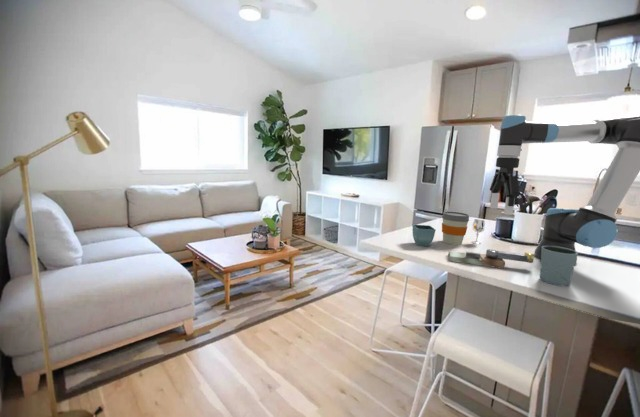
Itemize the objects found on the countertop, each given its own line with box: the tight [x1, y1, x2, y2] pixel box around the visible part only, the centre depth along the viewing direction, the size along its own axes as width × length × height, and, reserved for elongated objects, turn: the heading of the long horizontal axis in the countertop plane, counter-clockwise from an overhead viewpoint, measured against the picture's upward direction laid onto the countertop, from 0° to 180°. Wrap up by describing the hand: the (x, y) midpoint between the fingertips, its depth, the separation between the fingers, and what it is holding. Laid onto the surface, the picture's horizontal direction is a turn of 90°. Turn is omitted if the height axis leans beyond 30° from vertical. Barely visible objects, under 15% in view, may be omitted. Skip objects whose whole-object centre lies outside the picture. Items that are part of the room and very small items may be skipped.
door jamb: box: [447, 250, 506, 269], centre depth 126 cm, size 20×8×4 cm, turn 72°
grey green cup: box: [539, 246, 579, 287], centre depth 108 cm, size 10×10×12 cm
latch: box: [485, 249, 535, 264], centre depth 122 cm, size 17×4×3 cm, turn 72°
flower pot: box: [412, 224, 437, 247], centre depth 147 cm, size 9×9×9 cm
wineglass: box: [471, 219, 486, 245], centre depth 154 cm, size 6×6×12 cm
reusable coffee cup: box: [441, 211, 470, 246], centre depth 153 cm, size 13×13×15 cm
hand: (500, 211), depth 119 cm, fingers open, 13 cm apart
